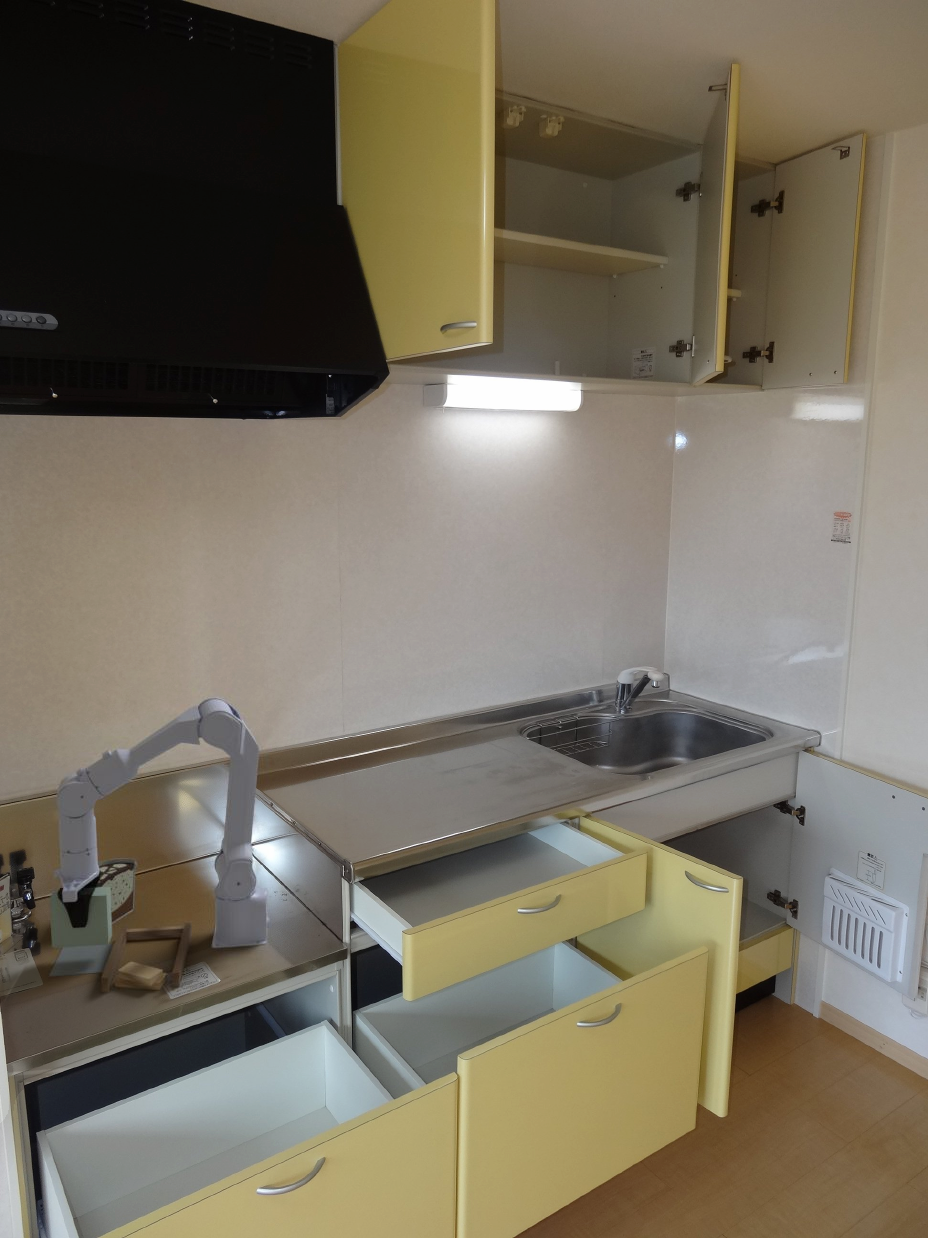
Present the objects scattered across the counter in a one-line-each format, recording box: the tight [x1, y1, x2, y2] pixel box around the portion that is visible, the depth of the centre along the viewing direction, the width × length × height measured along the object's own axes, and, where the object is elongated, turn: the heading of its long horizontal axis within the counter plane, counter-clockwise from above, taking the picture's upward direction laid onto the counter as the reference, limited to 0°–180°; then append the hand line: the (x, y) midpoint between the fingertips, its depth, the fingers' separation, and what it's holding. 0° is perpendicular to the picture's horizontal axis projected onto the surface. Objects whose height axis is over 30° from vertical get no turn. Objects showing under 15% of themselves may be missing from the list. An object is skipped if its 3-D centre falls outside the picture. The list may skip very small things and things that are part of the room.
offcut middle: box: [113, 972, 168, 991], centre depth 147 cm, size 8×3×1 cm, turn 84°
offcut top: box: [117, 961, 164, 986], centre depth 146 cm, size 7×3×1 cm, turn 68°
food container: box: [97, 857, 139, 925], centre depth 167 cm, size 12×6×10 cm, turn 159°
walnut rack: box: [100, 922, 193, 994], centre depth 153 cm, size 12×17×3 cm
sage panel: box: [49, 887, 113, 949], centre depth 152 cm, size 9×3×9 cm, turn 100°
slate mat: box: [48, 943, 114, 977], centre depth 153 cm, size 9×9×1 cm
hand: (82, 921), depth 152 cm, fingers closed on sage panel, 3 cm apart
